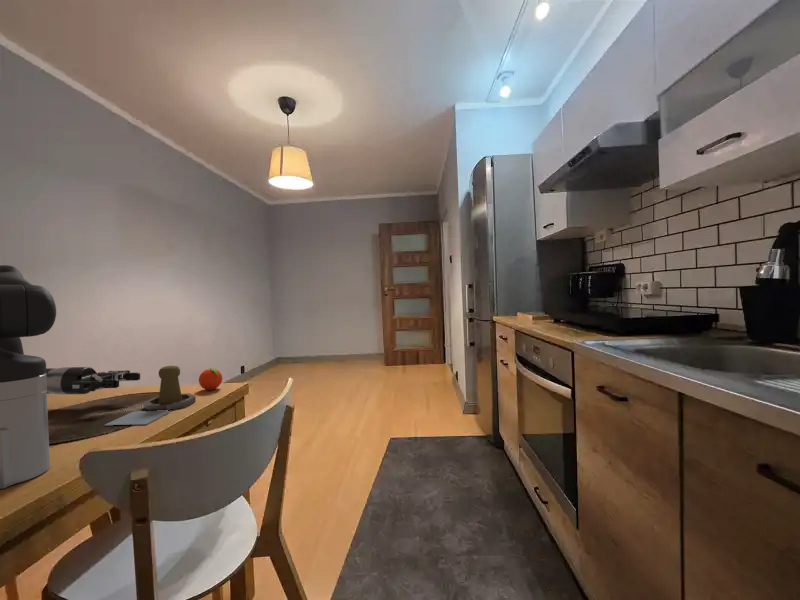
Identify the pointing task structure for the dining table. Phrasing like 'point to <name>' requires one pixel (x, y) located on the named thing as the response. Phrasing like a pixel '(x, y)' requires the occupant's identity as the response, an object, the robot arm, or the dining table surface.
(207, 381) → the clementine
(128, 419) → the rubber mat
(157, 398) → the dark grey flat ring
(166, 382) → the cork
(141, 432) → the dining table surface
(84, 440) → the dining table surface
